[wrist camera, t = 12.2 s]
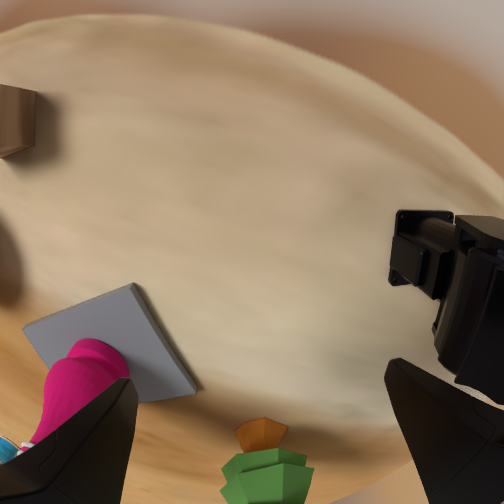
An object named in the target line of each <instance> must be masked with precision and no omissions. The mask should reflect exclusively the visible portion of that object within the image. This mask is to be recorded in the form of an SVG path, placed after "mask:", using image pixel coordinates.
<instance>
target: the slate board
mask: <svg viewBox="0 0 504 504" xmlns="http://www.w3.org/2000/svg"><path fill="white" fill-rule="evenodd" d="M22 331H23V332H24V334H25V335H26V337H27V338H28V340H29V341H30V343H31V344H32V346H33V347H34V349H35V350H36V352H37V353H38V355H39V356H40V357H41V359H42V360H43V362H44V363H45V364H46V366H47V367H48V368H49V370H50V369H51V367H52V366H53V364H54V363H56V362H57V361H58V360H60V359H63V358H67V354H68V353H69V351H70V350H71V348H72V347H73V345H74V344H75V343H76V342H77V341H79V340H81V339H88V338H91V339H95V340H99V341H101V342H104V343H106V344H107V345H109V346H110V347H112V348H113V349H115V350H116V351H117V352H118V353H119V354H120V355H121V357H122V358H123V359H124V360H125V362H126V364H127V367H128V369H129V378H131V379H132V381H133V383H134V385H135V388H136V390H137V392H138V397H139V400H138V403H145V402H152V401H158V400H164V399H170V398H175V397H180V396H186V395H191V394H195V393H196V392H197V385H196V384H195V382H194V381H193V379H192V378H191V376H190V375H189V374H188V372H187V371H186V369H185V368H184V366H183V365H182V363H181V362H180V360H179V359H178V357H177V356H176V354H175V352H174V351H173V349H172V348H171V346H170V345H169V343H168V341H167V340H166V338H165V337H164V335H163V333H162V332H161V330H160V328H159V327H158V325H157V323H156V322H155V320H154V318H153V317H152V315H151V313H150V311H149V310H148V308H147V306H146V304H145V303H144V301H143V299H142V297H141V295H140V293H139V292H138V290H137V288H136V286H135V284H134V283H131V284H128V285H126V286H123V287H121V288H118V289H115V290H113V291H110V292H108V293H105V294H102V295H100V296H97V297H95V298H92V299H90V300H87V301H85V302H82V303H79V304H77V305H74V306H72V307H69V308H67V309H64V310H62V311H59V312H57V313H54V314H52V315H49V316H47V317H44V318H42V319H39V320H37V321H34V322H32V323H29V324H27V325H25V326H24V327H23V329H22Z"/></svg>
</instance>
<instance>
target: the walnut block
mask: <svg viewBox="0 0 504 504" xmlns="http://www.w3.org/2000/svg"><path fill="white" fill-rule="evenodd" d="M35 98H36V91H32V90H27V89H22V88H17V87H12V86H7V85H2V84H0V158H3V157H6V156H8V155H10V154H13V153H15V152H18V151H20V150H23V149H26V148H28V147H31V146H34V145H35V137H34V124H35Z"/></svg>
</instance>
